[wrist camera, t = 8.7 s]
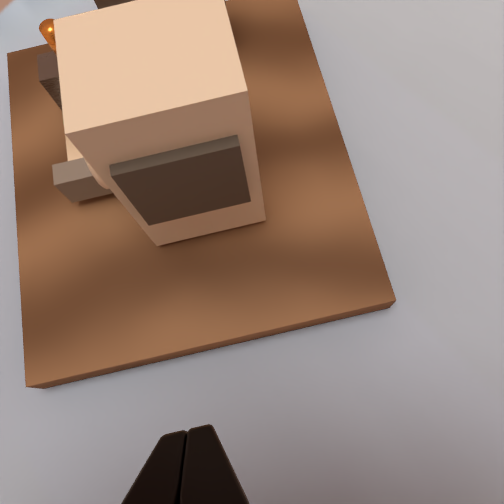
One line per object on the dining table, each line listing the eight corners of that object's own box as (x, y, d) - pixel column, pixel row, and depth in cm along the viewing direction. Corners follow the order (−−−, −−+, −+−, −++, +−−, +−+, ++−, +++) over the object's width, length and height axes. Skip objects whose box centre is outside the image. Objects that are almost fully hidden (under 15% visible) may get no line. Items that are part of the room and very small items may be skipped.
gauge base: (389, 307, 21) (437, 255, 14) (43, 388, 21) (-80, 376, 14) (292, 7, 27) (291, -135, 20) (22, 71, 27) (-73, -48, 20)
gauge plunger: (267, 228, 21) (250, 102, 12) (81, 272, 21) (-63, 177, 13) (247, 144, 22) (218, -20, 14) (72, 185, 22) (-63, 47, 14)
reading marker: (121, 98, 24) (85, 31, 19) (63, 112, 24) (14, 48, 19) (118, 74, 24) (81, 4, 20) (60, 88, 24) (12, 20, 20)
